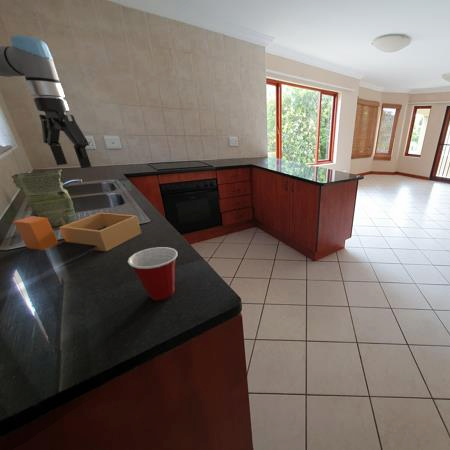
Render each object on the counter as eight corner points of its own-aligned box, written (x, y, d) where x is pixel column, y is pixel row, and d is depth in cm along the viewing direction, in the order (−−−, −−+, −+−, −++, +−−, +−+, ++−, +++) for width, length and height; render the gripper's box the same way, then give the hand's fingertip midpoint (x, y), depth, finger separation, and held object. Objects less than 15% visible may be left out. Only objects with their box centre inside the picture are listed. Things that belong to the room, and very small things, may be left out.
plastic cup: (190, 295, 63) (182, 256, 59) (143, 313, 57) (130, 272, 52) (179, 276, 71) (171, 241, 66) (137, 290, 65) (125, 253, 60)
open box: (67, 246, 88) (59, 227, 85) (106, 229, 102) (100, 212, 99) (106, 251, 85) (99, 231, 81) (141, 233, 99) (136, 215, 95)
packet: (29, 252, 83) (13, 221, 78) (45, 246, 88) (31, 216, 83) (44, 255, 82) (29, 223, 77) (60, 248, 86) (47, 217, 82)
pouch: (35, 235, 95) (5, 173, 86) (56, 224, 106) (32, 168, 96) (67, 233, 98) (41, 172, 88) (85, 222, 108) (64, 167, 98)
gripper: (88, 98, 74) (109, 167, 82) (42, 99, 82) (65, 162, 91) (58, 95, 68) (84, 170, 76) (11, 97, 76) (39, 164, 84)
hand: (74, 166), depth 83 cm, fingers open, 13 cm apart
